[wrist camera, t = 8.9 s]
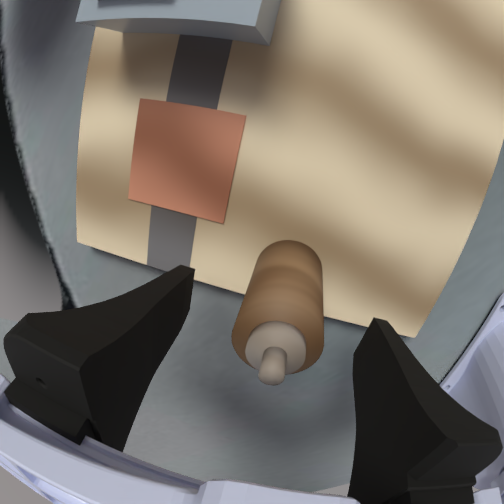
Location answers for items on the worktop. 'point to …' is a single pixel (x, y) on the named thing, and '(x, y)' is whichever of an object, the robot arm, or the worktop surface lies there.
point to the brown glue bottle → (282, 312)
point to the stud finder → (185, 17)
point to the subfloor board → (300, 148)
